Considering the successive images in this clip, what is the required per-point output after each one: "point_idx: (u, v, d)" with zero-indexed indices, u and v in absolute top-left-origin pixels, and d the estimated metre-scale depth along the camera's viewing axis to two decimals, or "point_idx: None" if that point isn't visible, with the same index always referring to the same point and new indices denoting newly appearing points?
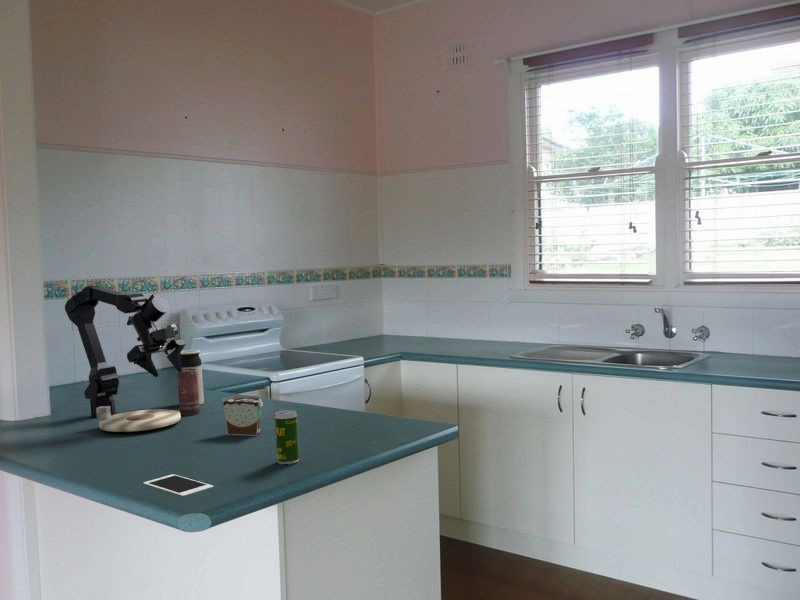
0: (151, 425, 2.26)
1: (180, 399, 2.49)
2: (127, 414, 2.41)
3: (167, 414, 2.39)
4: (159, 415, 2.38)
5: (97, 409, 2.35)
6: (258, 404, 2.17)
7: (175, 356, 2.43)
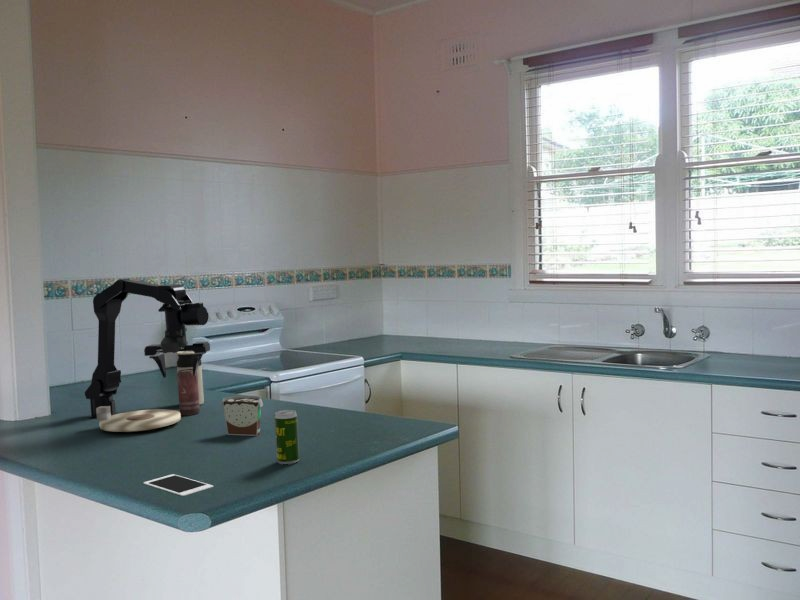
0: (151, 425, 2.26)
1: (180, 399, 2.49)
2: (127, 414, 2.41)
3: (167, 414, 2.39)
4: (159, 415, 2.38)
5: (97, 409, 2.35)
6: (258, 404, 2.17)
7: None
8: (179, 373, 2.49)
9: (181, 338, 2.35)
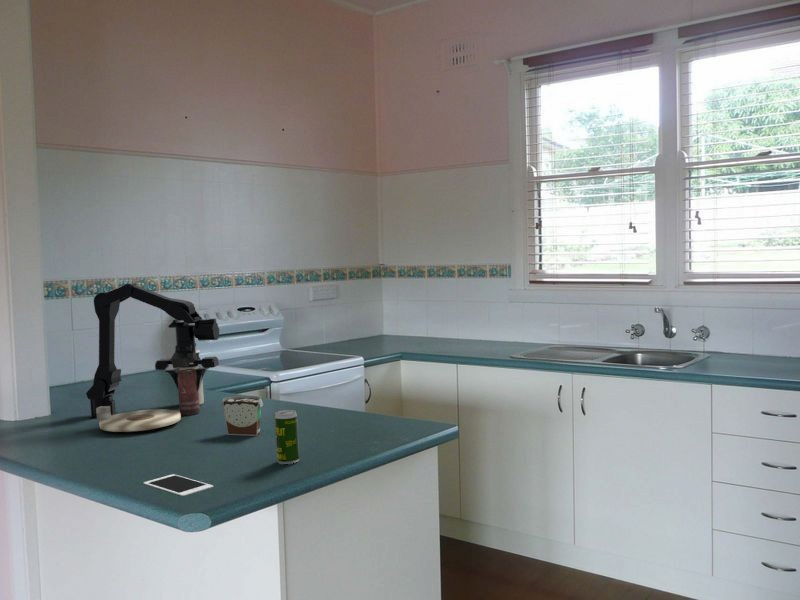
0: (151, 425, 2.26)
1: (180, 399, 2.49)
2: (127, 414, 2.41)
3: (167, 414, 2.39)
4: (159, 415, 2.38)
5: (97, 409, 2.35)
6: (258, 404, 2.17)
7: None
8: (179, 373, 2.49)
9: (191, 354, 2.43)
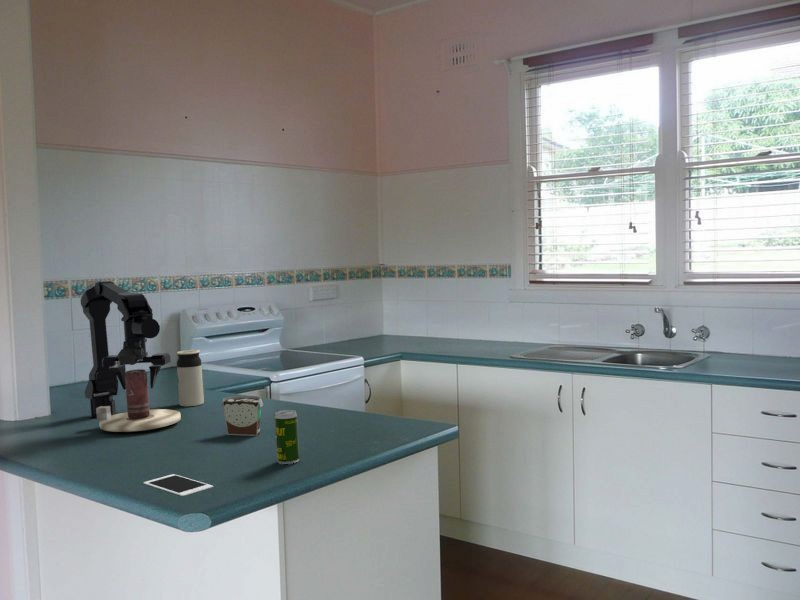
0: (151, 425, 2.26)
1: (128, 402, 2.34)
2: (127, 414, 2.41)
3: (167, 414, 2.39)
4: (159, 415, 2.38)
5: (97, 409, 2.35)
6: (258, 404, 2.17)
7: None
8: (126, 374, 2.33)
9: (139, 350, 2.27)
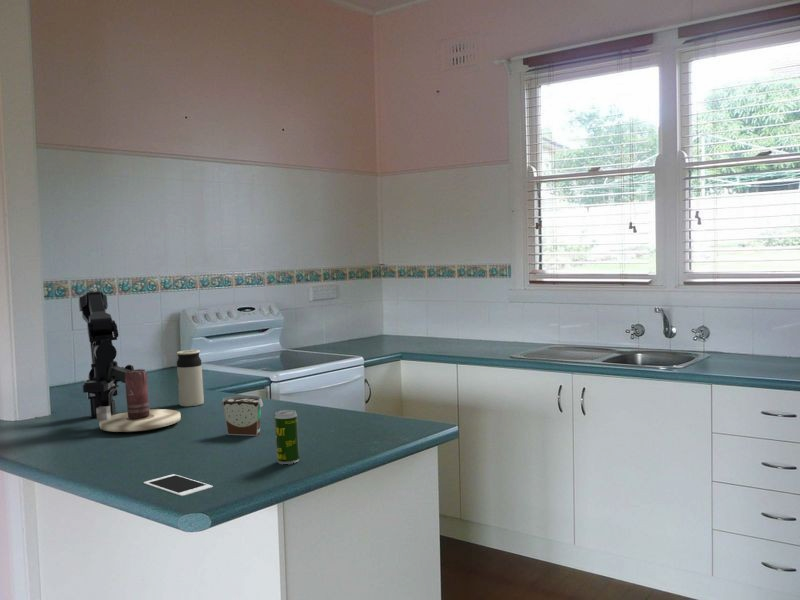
0: (151, 425, 2.26)
1: (128, 402, 2.34)
2: (127, 414, 2.41)
3: (167, 414, 2.39)
4: (159, 415, 2.38)
5: (97, 409, 2.35)
6: (258, 404, 2.17)
7: None
8: (126, 374, 2.33)
9: (132, 367, 2.42)
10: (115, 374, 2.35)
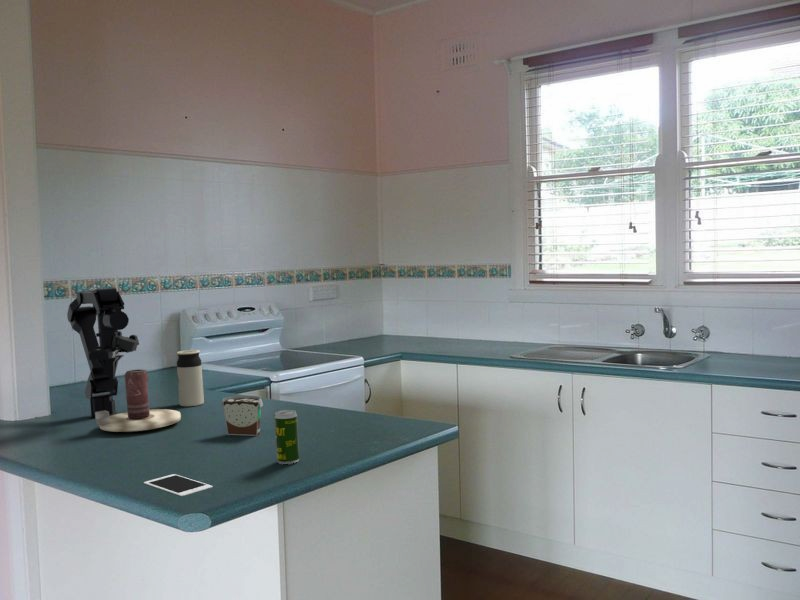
0: (174, 419, 2.33)
1: (133, 402, 2.32)
2: (114, 418, 2.37)
3: (160, 412, 2.43)
4: (154, 413, 2.41)
5: (99, 414, 2.27)
6: (258, 404, 2.17)
7: None
8: (131, 374, 2.32)
9: (136, 336, 2.48)
10: (119, 343, 2.42)
